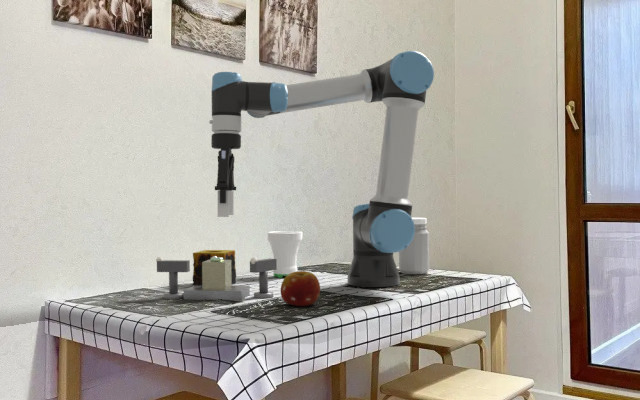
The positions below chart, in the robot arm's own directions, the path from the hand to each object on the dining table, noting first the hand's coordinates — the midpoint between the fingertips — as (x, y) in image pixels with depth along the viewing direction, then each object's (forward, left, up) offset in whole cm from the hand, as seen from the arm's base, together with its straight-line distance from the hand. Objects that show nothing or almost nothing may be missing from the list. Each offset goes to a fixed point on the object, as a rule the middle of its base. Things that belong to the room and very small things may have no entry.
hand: (225, 216), depth 174 cm
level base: (+2, 0, -21) cm, 21 cm away
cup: (-8, -42, -21) cm, 48 cm away
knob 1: (+13, +2, -21) cm, 25 cm away
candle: (+9, -22, -21) cm, 32 cm away
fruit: (-21, +10, -21) cm, 31 cm away
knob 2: (-10, -1, -21) cm, 23 cm away
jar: (-49, -54, -21) cm, 76 cm away
